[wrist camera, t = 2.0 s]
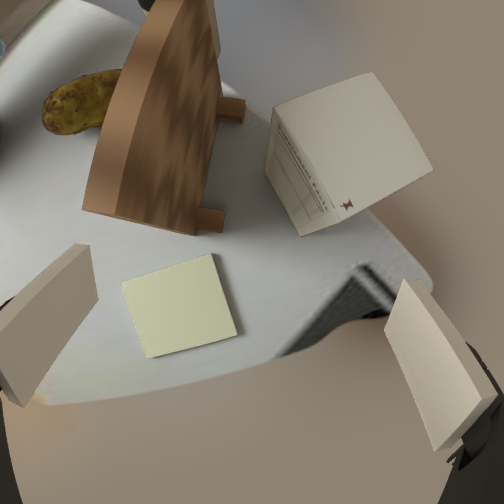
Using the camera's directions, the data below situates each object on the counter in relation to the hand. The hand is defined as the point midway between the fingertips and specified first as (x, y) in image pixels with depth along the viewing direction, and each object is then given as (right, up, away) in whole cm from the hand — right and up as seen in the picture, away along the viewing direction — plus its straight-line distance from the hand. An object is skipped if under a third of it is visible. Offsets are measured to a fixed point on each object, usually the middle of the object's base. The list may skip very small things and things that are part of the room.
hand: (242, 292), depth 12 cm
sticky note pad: (-9, -5, +24) cm, 26 cm away
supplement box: (+8, +9, +24) cm, 27 cm away
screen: (-6, +13, +23) cm, 27 cm away
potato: (-21, +21, +24) cm, 38 cm away
